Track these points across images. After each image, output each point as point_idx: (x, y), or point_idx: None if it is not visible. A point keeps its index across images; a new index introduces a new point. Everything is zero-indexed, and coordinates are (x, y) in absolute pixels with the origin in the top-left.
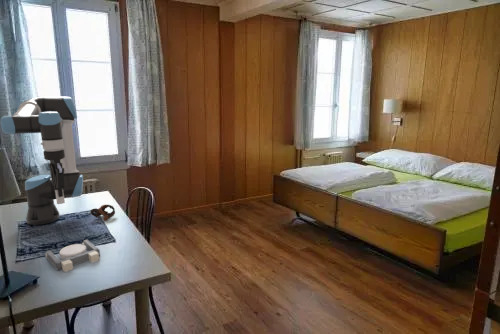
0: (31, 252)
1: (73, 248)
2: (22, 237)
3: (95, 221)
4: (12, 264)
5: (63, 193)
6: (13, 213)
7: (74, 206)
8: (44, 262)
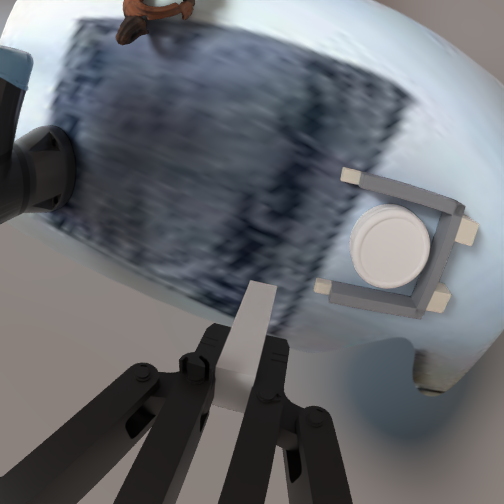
0: None
1: (389, 247)
2: (126, 257)
3: (165, 43)
4: None
5: (264, 338)
6: None
7: None
8: None
